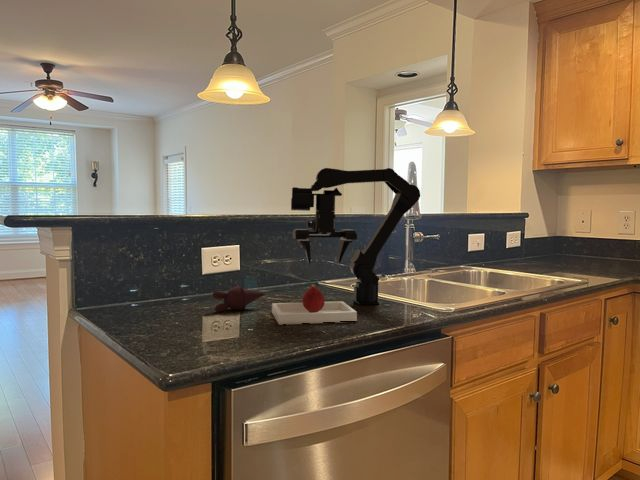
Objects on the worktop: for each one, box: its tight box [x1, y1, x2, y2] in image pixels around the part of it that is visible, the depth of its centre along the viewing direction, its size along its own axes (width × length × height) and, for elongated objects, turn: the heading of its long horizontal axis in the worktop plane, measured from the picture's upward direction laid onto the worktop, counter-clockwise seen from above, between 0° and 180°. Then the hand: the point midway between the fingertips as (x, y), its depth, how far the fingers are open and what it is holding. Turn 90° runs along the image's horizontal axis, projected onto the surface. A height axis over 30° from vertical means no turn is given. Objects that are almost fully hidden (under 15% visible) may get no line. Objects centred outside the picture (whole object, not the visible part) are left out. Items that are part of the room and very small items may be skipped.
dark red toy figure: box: [211, 285, 266, 313], centre depth 131 cm, size 7×7×15 cm
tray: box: [271, 300, 358, 326], centre depth 124 cm, size 20×13×2 cm, turn 103°
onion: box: [302, 284, 326, 313], centre depth 124 cm, size 6×6×8 cm
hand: (324, 263), depth 142 cm, fingers open, 9 cm apart
